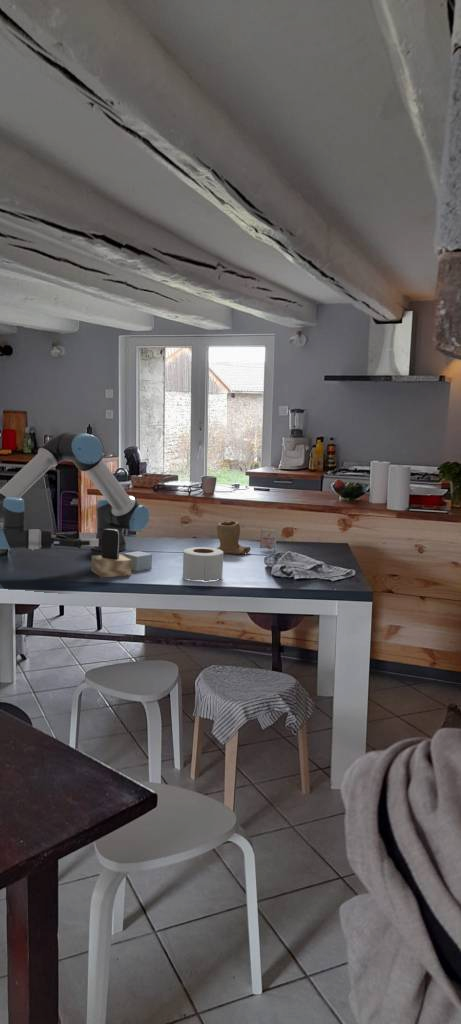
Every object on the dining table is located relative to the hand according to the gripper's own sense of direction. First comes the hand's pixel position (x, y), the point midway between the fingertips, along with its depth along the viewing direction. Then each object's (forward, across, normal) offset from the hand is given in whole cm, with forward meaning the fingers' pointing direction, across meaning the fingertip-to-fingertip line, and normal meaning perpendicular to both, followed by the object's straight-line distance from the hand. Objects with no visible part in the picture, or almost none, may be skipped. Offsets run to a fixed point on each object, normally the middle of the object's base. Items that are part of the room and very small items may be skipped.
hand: (97, 539), depth 283 cm
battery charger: (+5, -1, -8) cm, 9 cm away
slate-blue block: (+17, -8, -14) cm, 23 cm away
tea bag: (+82, -41, -14) cm, 92 cm away
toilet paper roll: (+40, +9, -14) cm, 43 cm away
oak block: (+6, 0, -14) cm, 15 cm away
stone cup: (+63, -35, -14) cm, 73 cm away
